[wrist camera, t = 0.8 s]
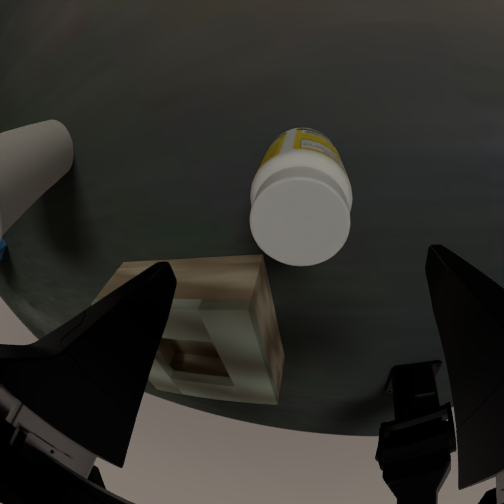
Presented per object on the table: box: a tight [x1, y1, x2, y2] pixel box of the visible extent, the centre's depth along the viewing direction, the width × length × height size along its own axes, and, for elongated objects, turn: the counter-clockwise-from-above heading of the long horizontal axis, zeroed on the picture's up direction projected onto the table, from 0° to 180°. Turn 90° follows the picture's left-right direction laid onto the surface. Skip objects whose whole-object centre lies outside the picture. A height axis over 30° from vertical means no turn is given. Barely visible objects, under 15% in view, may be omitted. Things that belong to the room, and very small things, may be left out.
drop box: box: [92, 254, 285, 405], centre depth 26 cm, size 14×14×6 cm
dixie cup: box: [0, 120, 74, 241], centre depth 16 cm, size 8×8×10 cm
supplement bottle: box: [250, 128, 352, 266], centre depth 14 cm, size 5×5×8 cm
